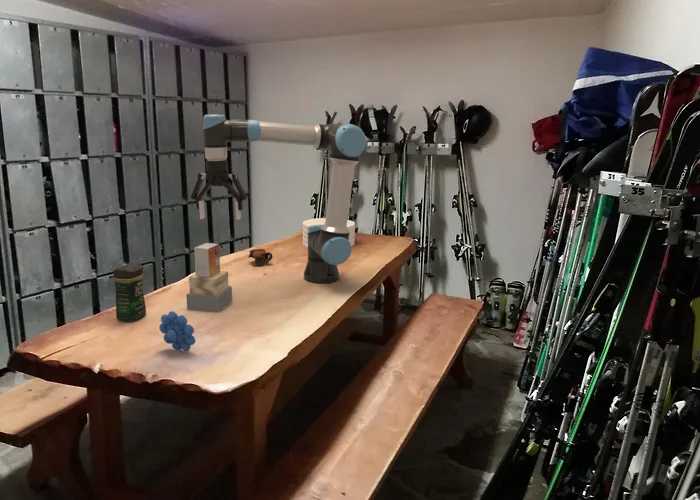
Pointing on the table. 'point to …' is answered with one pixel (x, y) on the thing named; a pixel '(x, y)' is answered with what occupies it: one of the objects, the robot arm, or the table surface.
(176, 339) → the grapes
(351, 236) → the plate stack
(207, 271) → the small box
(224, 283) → the block top
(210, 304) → the block base
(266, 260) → the pottery mug
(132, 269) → the coffee jar
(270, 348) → the table surface
